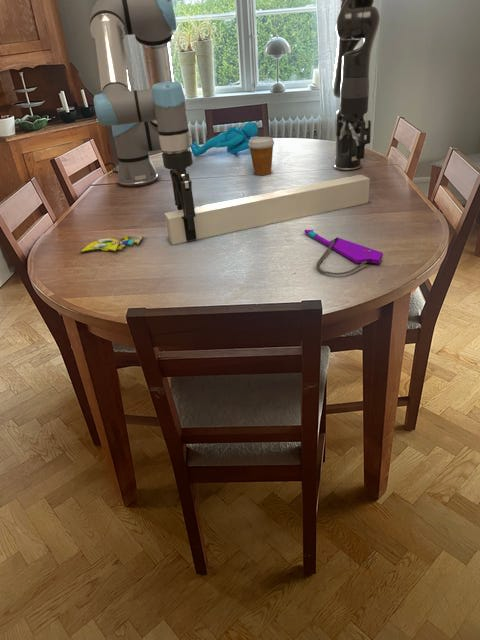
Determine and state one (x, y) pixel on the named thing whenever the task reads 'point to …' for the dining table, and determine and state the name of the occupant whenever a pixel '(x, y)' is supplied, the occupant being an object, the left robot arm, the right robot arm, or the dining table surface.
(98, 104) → the left robot arm
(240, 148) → the toy
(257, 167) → the disposable coffee cup
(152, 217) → the dining table surface
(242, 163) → the dining table surface
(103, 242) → the toy
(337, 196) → the post
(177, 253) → the dining table surface
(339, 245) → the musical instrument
